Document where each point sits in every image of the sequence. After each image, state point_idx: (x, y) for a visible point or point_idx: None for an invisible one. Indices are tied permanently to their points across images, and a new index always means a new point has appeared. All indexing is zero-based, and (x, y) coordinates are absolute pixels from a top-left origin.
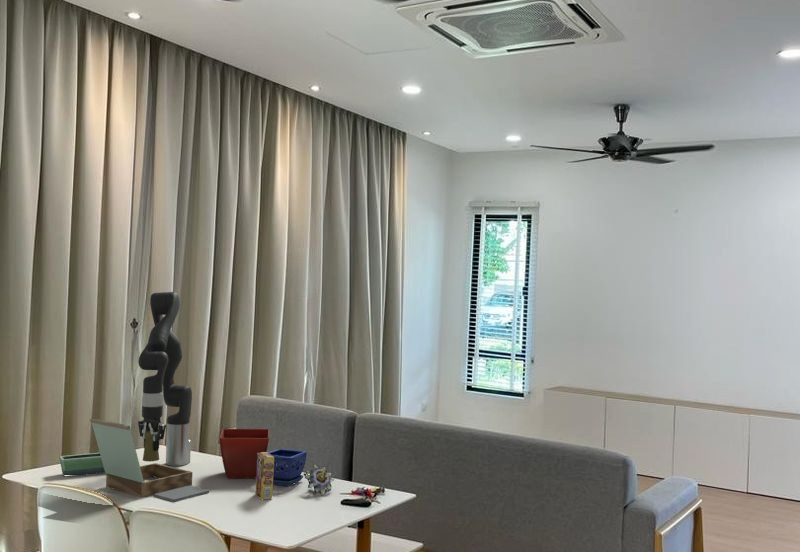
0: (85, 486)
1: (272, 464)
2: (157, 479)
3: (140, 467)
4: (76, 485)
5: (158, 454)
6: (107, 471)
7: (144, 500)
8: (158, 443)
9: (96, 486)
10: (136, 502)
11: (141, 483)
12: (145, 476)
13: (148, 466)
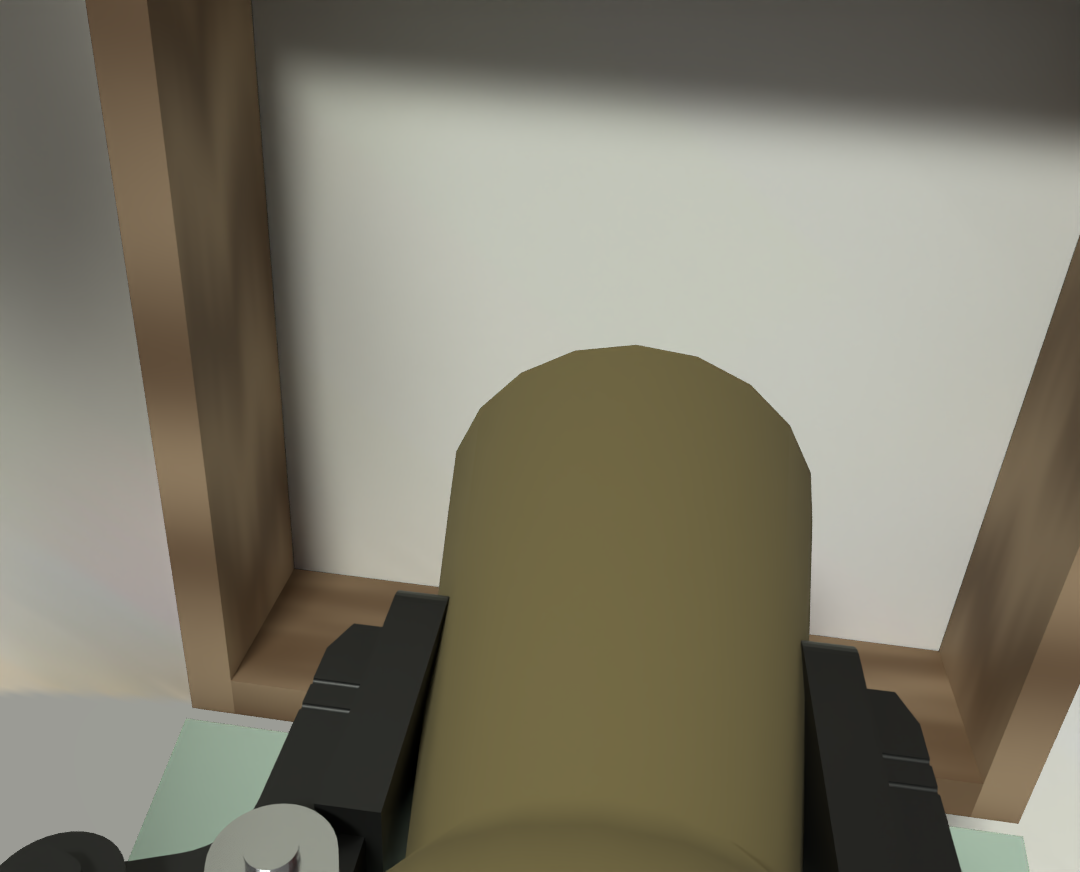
0: (100, 674)
1: None
2: (1077, 631)
3: (176, 204)
4: (5, 688)
5: (792, 512)
6: (242, 769)
7: (1071, 757)
8: (947, 864)
9: (175, 628)
10: (1037, 829)
11: (960, 803)
12: (238, 47)
13: (156, 5)
